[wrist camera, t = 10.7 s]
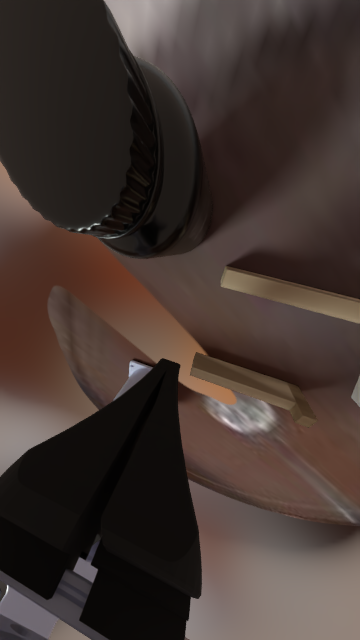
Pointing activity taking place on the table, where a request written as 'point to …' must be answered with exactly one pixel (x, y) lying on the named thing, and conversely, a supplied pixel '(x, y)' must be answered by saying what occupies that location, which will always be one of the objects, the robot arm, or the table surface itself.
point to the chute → (259, 383)
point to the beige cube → (356, 393)
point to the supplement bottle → (98, 131)
